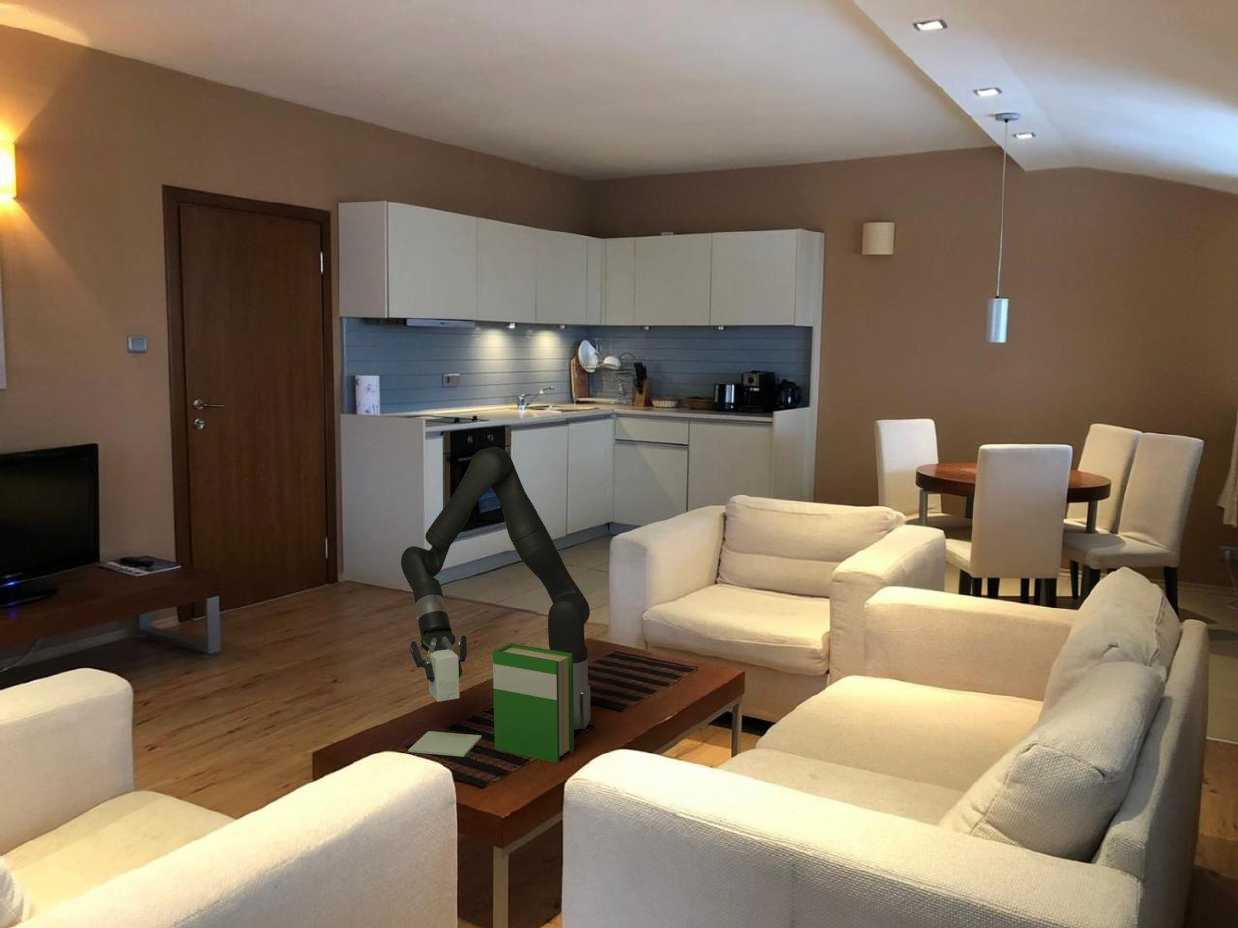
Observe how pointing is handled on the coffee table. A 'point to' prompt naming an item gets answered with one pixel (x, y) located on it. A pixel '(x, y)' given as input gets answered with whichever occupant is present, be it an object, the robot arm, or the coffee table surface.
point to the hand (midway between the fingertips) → (445, 678)
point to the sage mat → (445, 743)
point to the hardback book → (533, 701)
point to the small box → (445, 675)
